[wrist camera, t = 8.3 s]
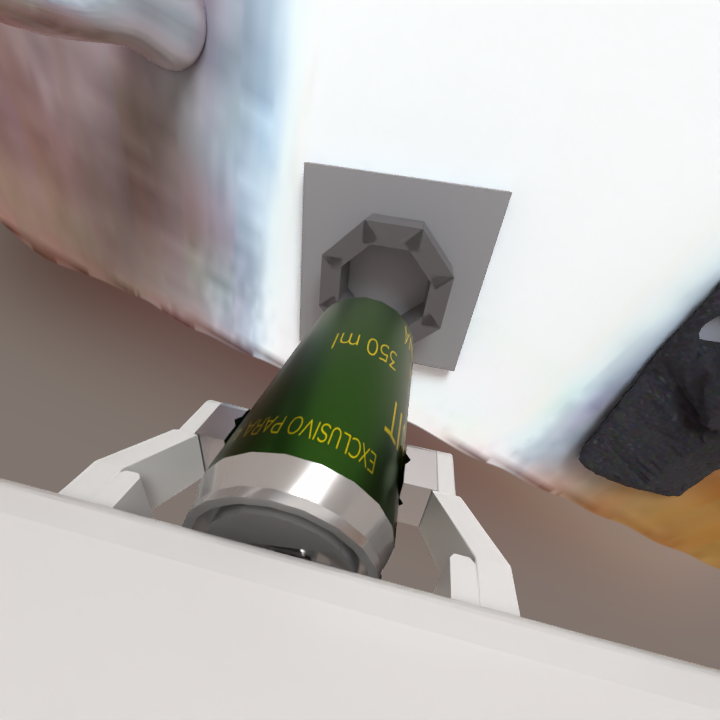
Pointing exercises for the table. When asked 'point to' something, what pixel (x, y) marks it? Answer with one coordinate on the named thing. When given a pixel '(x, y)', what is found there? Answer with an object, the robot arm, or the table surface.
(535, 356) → the table surface
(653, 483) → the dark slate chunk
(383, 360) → the beer can
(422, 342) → the barrel holder
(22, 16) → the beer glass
